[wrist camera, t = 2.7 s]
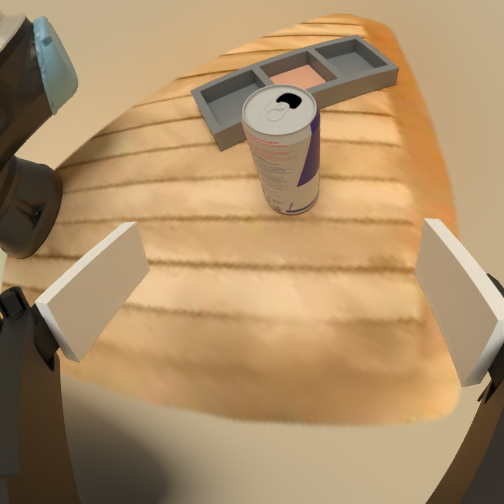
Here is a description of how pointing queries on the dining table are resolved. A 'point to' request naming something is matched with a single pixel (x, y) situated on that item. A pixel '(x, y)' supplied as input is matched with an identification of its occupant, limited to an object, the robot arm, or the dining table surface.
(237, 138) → the compartment tray
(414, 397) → the dining table surface
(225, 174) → the dining table surface
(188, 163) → the dining table surface
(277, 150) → the energy drink
